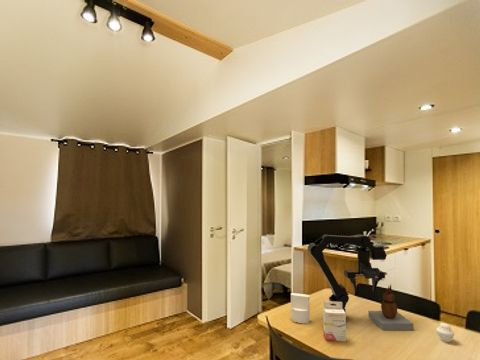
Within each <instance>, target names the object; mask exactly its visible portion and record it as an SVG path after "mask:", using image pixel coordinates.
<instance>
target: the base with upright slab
mask: <svg viewBox="0 0 480 360" xmlns="http://www.w3.org/2000/svg"><path fill="white" fill-rule="evenodd" d="M310 307H311V306H310V294H304V293H297V292H292V293H290V313H291V316H290V318H291V319H292V320H293V321H294V322H293V321H292V320H291V319H290V320H291V321H292V322H293V323H295V322H298V323H297V324H299V323H306V324H308V322H309V321H310V322H311V319H310V317H311V315H310V314H311V312H310V311H311V310H310ZM310 322H309V323H310Z"/></svg>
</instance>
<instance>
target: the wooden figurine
mask: <svg viewBox="0 0 480 360" xmlns="http://www.w3.org/2000/svg"><path fill="white" fill-rule="evenodd" d="M392 289H393V288H392V284H389V285H388V287H387V288H386V289H385V292H384V293H383V294H382V298H383V300H382V301H381V303H380V308H381V310H380V311H382V313H383V315H384V316H385V317H387V318H395V317H396V314H397V312H398V305H397V303H396V301H395V299H396V298H395V295H394V294H393V293H392V292H393V291H392Z"/></svg>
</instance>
